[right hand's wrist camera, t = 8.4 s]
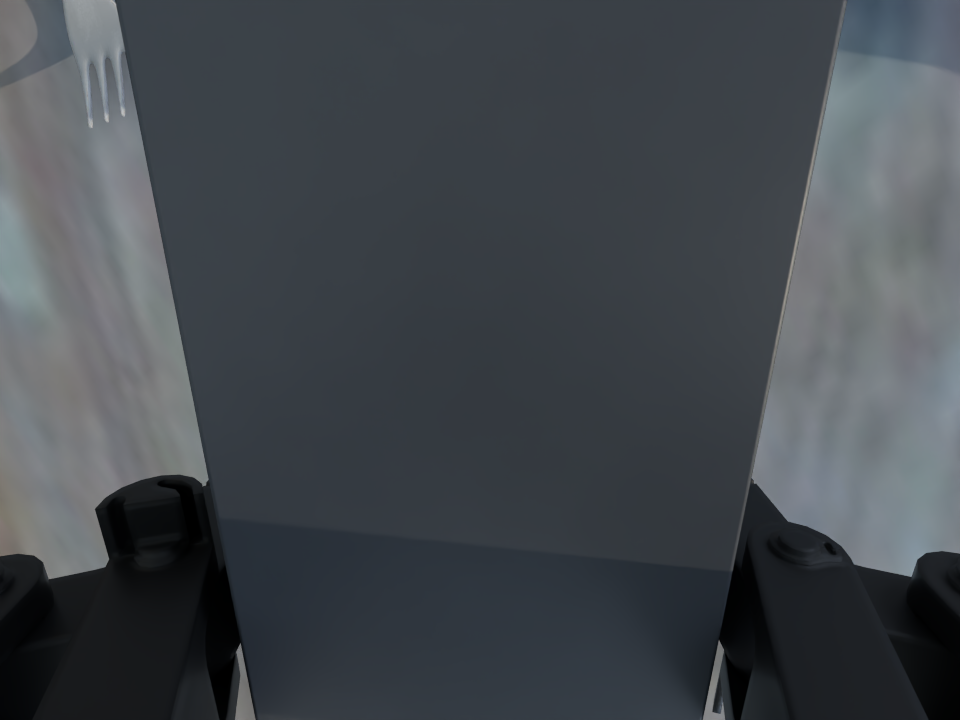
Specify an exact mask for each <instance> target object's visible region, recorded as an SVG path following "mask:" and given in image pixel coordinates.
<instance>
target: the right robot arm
mask: <svg viewBox="0 0 960 720" xmlns="http://www.w3.org/2000/svg"><path fill="white" fill-rule="evenodd" d="M95 511H96V514H97V518H98V521H99V525H100V528H101V532H102V535H103V539H104V542H105V546H106V549H107V552H108V556H109V561H108V563H107V565H106V567H104V568H101V569H97V570H93V571H88V572H83V573H78V574H73V575H68V576H64V577H59V578H54V579H48V576H47V573H46V570H45V567H44V564H43V562H42V561H40V560H39V559H38V558H36V557H35V556H32V555H23V554H14V555H7V556H0V720H235V714H236V706H237V698H238V689H239V681H240V671H239V664H238V659H237V654H236V651H237V649H238V647H239V645H240V643H241V642H240V636H239V631H238V626H237V621H236V616H235V611H234V606H233V601H232V596H231V590H230V585H229V580H228V575H227V570H226V565H225V560H224V555H223V549H222V544H221V539H220V534H219V529H218V524H217V519H216V514H215V509H214V503H213V498H212V493H211V488H210V483H209V480H208V481H207V483H206V486H203V487H202V484H201V483H200V482H199V481H197V480H196V479H195V478H193V477H188V476H183V475H164V476H157V477H153V478H149V479H144V480H140V481H138V482H135V483H133V484H130V485H128V486H125V487H122V488H121V489H119V490H117V491H116V492H114V493H112V494H111V495H109V496H108V497H106V498H105V499H104V500H103V501H102V502H101V503H100V504H99V505H98V506H97V507H96V509H95ZM719 640H720V642H721V645H722V647H723V649H724V654H723V659H722V664H721V669H720V673H719V678H718V683H717V688H716V693H715V698H714V705H713V712H715V713H719V714H720V713H721V708H722V703H723V704H724V712H725V720H960V554H958V553H951V552H944V551H940V552H932V553H926V554H924V555H923V556H922V557H920V558H919V559H918V560H917V563H916V566H915V569H914V572H913V575H912V577H909V576H904V575H899V574H894V573H889V572H884V571H880V570H875V569H870V568H865V567H861V566H857V565H854V564H853V562H852V560H851V558H850V557H849V556H848V554H847V553H846V552H845V550H844V549H843V548H842V547H841V546H840V545H839V544H837V543H836V542H835V541H833V540H832V539H830V538H829V537H828V536H826V535H824V534H822V533H820V532H818V531H816V530H813V529H811V528H809V527H806V526H803V525H799V524H795V523H791V522H788V521H787V520H786V519H785V518H784V517H783V515H782V514H781V513H780V512H779V511H778V509H777V508H776V507H775V506H774V505H773V503H772V502H771V501H770V500H769V499H768V497H767V496H766V495H765V494H764V493H763V491H762V490H761V489H760V488H759V487H758V485H757V484H754V481H753V479H752V478H751V482H750V487H749V492H748V497H747V502H746V507H745V512H744V517H743V522H742V527H741V532H740V536H739V541H738V546H737V551H736V556H735V561H734V566H733V571H732V576H731V581H730V586H729V591H728V596H727V601H726V606H725V611H724V616H723V621H722V626H721V631H720V636H719Z"/></svg>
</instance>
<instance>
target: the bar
mask: <svg viewBox="0 0 960 720" xmlns="http://www.w3.org/2000/svg"><path fill="white" fill-rule="evenodd" d="M115 2H116V7H117V12H118V17H119V22H120V27H121V33H122V38H123V43H124V48H125V53H126V58H127V63H128V68H129V74H130V79H131V84H132V89H133V94H134V99H135V104H136V109H137V114H138V120H139V125H140V130H141V135H142V140H143V145H144V150H145V155H146V161H147V166H148V171H149V176H150V181H151V186H152V191H153V196H154V201H155V207H156V212H157V217H158V222H159V227H160V232H161V237H162V242H163V248H164V253H165V258H166V263H167V268H168V273H169V278H170V283H171V288H172V294H173V299H174V304H175V309H176V314H177V319H178V324H179V329H180V335H181V340H182V345H183V350H184V355H185V360H186V365H187V370H188V375H189V381H190V386H191V391H192V396H193V401H194V406H195V411H196V416H197V422H198V427H199V432H200V437H201V442H202V447H203V452H204V457H205V462H206V468H207V473H208V478H209V483H210V488H211V493H212V498H213V503H214V509H215V514H216V519H217V524H218V529H219V534H220V539H221V544H222V549H223V555H224V560H225V565H226V570H227V575H228V580H229V585H230V590H231V596H232V601H233V606H234V611H235V616H236V621H237V626H238V631H239V636H240V642H241V647H242V652H243V657H244V662H245V667H246V672H247V677H248V683H249V688H250V693H251V698H252V703H253V708H254V713H255V718H256V720H703V715H704V710H705V705H706V701H707V696H708V691H709V686H710V681H711V676H712V671H713V666H714V661H715V656H716V651H717V646H718V641H719V636H720V631H721V626H722V621H723V616H724V611H725V606H726V601H727V596H728V591H729V586H730V581H731V576H732V571H733V566H734V561H735V556H736V551H737V546H738V541H739V536H740V532H741V527H742V522H743V517H744V512H745V507H746V502H747V497H748V492H749V487H750V482H751V477H752V472H753V467H754V462H755V457H756V452H757V447H758V442H759V437H760V432H761V427H762V422H763V417H764V412H765V407H766V402H767V397H768V392H769V387H770V382H771V377H772V372H773V367H774V362H775V358H776V353H777V348H778V343H779V338H780V333H781V328H782V323H783V318H784V313H785V308H786V303H787V298H788V293H789V288H790V283H791V278H792V273H793V268H794V263H795V258H796V253H797V248H798V243H799V238H800V233H801V228H802V223H803V218H804V213H805V208H806V203H807V198H808V193H809V188H810V184H811V179H812V174H813V169H814V164H815V159H816V154H817V149H818V144H819V139H820V134H821V129H822V124H823V119H824V114H825V109H826V104H827V99H828V94H829V89H830V84H831V79H832V74H833V69H834V64H835V59H836V54H837V49H838V44H839V39H840V34H841V29H842V24H843V19H844V14H845V10H846V5H847V0H115Z"/></svg>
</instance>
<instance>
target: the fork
mask: <svg viewBox="0 0 960 720" xmlns="http://www.w3.org/2000/svg"><path fill="white" fill-rule="evenodd" d="M62 1H63V9H64V16H65V22H66V27H67V32H68V37H69V41H70V44H71V47H72V51H73V54H74V57H75V60H76V63H77V66H78V69H79V73H80V77H81V82H82V87H83V92H84V98H85V104H86V110H87V118H88V127H89V128H93V118H92V98H91V85H90V76H89V66H90V64H94V66H95V69H96V72H97V77H98V82H99V87H100V92H101V98H102V104H103V111H104V119H105V121H106V122H107V123H108V122H109V110H108V93H107V81H106V72H105V60H106V58H109V59H110V60H111V63H112V67H113V71H114V76H115V81H116V86H117V91H118V97H119V103H120V111H121V115H122V116H123V117H125V102H124V87H123V76H122V67H121V54H122V52H125V48H124V43H123V38H122V33H121V27H120V22H119V17H118V12H117V7H116V3H115V2H114V1H113V0H62Z"/></svg>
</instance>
